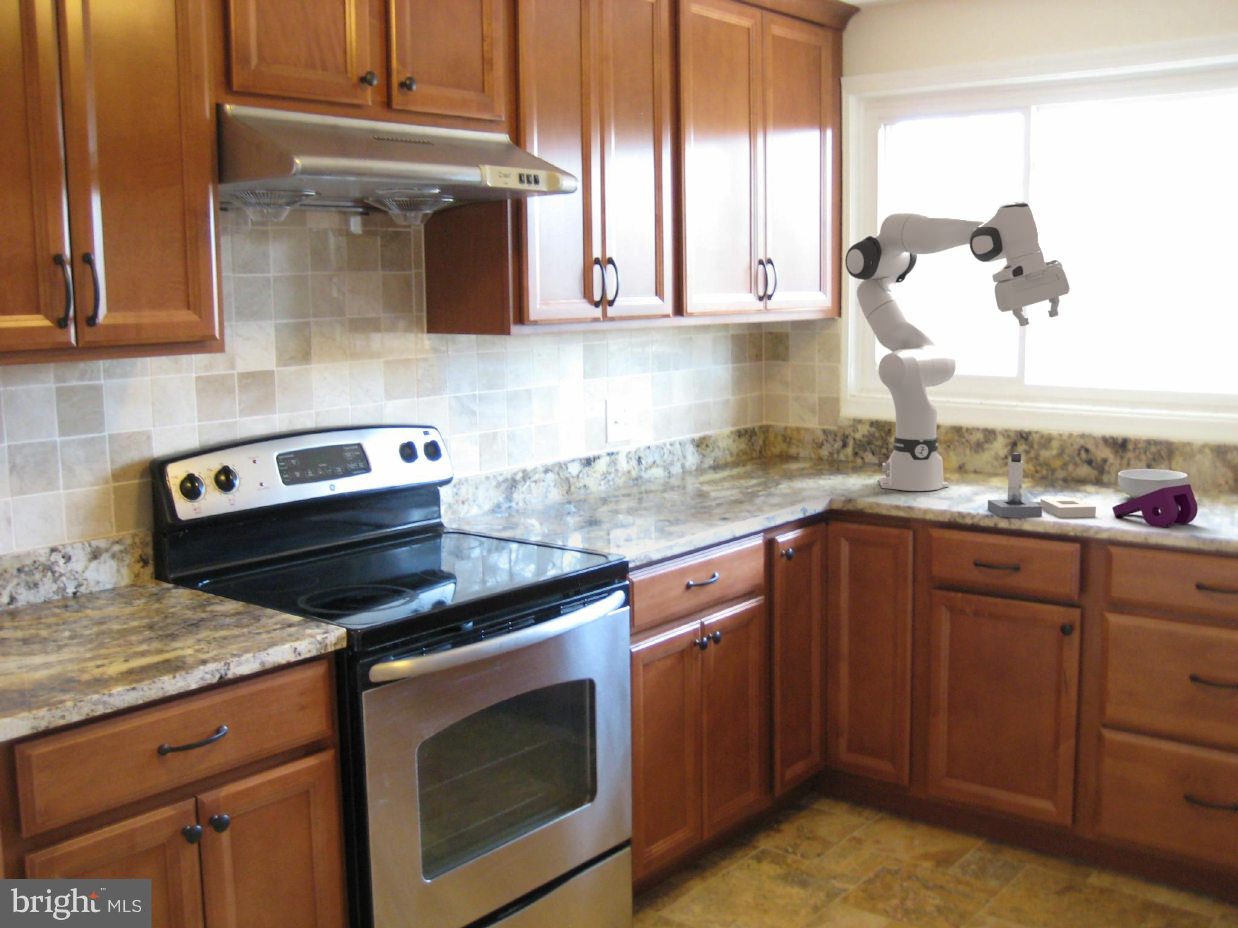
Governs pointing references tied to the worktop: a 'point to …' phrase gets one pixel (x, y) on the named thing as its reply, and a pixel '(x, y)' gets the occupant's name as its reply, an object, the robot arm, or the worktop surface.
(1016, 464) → the capped cylinder peg
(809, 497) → the worktop surface
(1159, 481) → the cereal bowl
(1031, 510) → the socket
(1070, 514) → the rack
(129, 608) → the worktop surface
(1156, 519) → the mounting bracket
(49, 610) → the worktop surface
